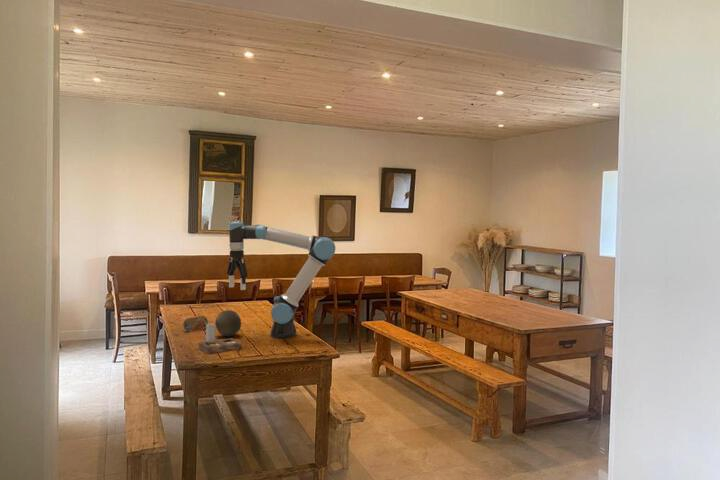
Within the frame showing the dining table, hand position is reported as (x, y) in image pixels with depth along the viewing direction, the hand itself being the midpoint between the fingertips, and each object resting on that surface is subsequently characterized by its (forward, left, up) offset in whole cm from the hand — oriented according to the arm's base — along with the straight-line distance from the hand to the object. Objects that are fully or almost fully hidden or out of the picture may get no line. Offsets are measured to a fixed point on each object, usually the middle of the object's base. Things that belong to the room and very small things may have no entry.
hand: (237, 288), depth 287 cm
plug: (+18, +9, -29) cm, 36 cm away
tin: (+10, -37, -30) cm, 48 cm away
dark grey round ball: (0, -12, -29) cm, 32 cm away
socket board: (+14, +11, -29) cm, 34 cm away
